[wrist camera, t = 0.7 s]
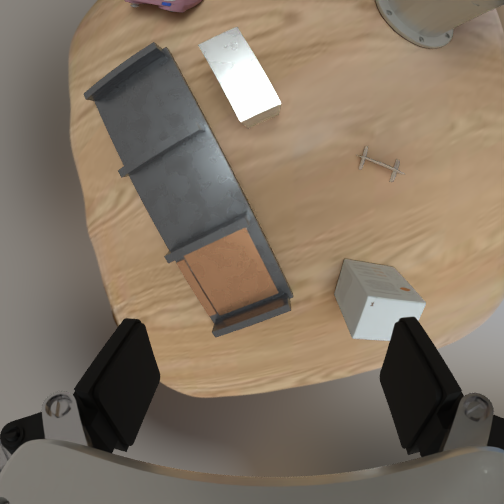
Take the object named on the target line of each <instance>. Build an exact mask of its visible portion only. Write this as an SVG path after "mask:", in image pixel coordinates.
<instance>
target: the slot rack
mask: <svg viewBox="0 0 504 504" xmlns="http://www.w3.org/2000/svg"><path fill="white" fill-rule="evenodd" d="M84 96H85V99H86V100H92V101H95V104H96V106H97V108H98V111H99V113H100V115H101V118H102V120H103V122H104V124H105V126H106V129H107V131H108V133H109V135H110V137H111V139H112V142H113V144H114V146H115V148H116V150H117V152H118V154H119V156H120V158H121V160H122V162H123V165H124V167H122V168H121V169H120V170H118V172H119V174H120V176H121V178H122V177H126V176H129V177H130V179H131V180H132V182H133V184H134V186H135V188H136V190H137V192H138V194H139V196H140V198H141V200H142V202H143V204H144V205H145V207H146V209H147V211H148V213H149V215H150V217H151V218H152V220H153V222H154V224H155V226H156V228H157V229H158V231H159V233H160V235H161V236H162V238H163V240H164V242H165V244H166V245H167V247H168V249H169V252H168V253H167V254H166V255H165V256H164V257H165V259H166V260H167V262H168V263H170V262H172V261H176V263H177V265H178V267H179V268H180V270H181V272H182V273H183V275H184V277H185V278H186V280H187V282H188V283H189V285H190V287H191V288H192V290H193V291H194V293H195V295H196V296H197V298H198V299H199V301H200V303H201V304H202V306H203V307H204V309H205V310H206V312H207V314H208V315H209V316H210V318H211V319H212V321H213V322H214V327H213V330H212V333H213V335H214V336H215V337H218V336H221V335H224V334H227V333H230V332H233V331H236V330H239V329H242V328H245V327H248V326H250V325H253V324H256V323H259V322H262V321H264V320H267V319H270V318H272V317H275V316H278V315H280V314H283V313H286V312H288V311H291V304H290V298H292V297H293V293H292V291H291V289H290V287H289V284H288V282H287V280H286V278H285V276H284V274H283V272H282V270H281V268H280V266H279V264H278V262H277V260H276V258H275V256H274V253H273V251H272V249H271V247H270V245H269V243H268V241H267V239H266V237H265V235H264V233H263V231H262V229H261V227H260V225H259V223H258V221H257V219H256V217H255V215H254V213H253V211H252V209H251V207H250V205H249V203H248V201H247V199H246V197H245V195H244V193H243V191H242V189H241V187H240V185H239V183H238V181H237V179H236V177H235V175H234V173H233V171H232V169H231V167H230V165H229V163H228V161H227V159H226V157H225V155H224V153H223V151H222V150H221V148H220V146H219V144H218V142H217V140H216V138H215V136H214V134H213V132H212V130H211V128H210V126H209V124H208V122H207V120H206V119H205V117H204V115H203V113H202V111H201V109H200V107H199V105H198V103H197V101H196V99H195V98H194V96H193V94H192V92H191V90H190V88H189V86H188V84H187V82H186V81H185V79H184V77H183V75H182V73H181V71H180V69H179V68H178V66H177V64H176V62H175V60H174V58H173V56H172V55H171V53H170V51H169V49H168V48H167V47H165V48H164V49H162V48H161V47H159V46H158V45H157V44H156V43H154V42H153V43H152V44H150V45H148V46H147V47H145V48H144V49H142V50H141V51H139V52H138V53H136V54H135V55H133V56H132V57H130V58H129V59H127V60H126V61H125V62H123V63H122V64H120V65H119V66H118V67H116V68H115V69H114V70H112V71H111V72H110V73H108V74H107V75H106V76H105V77H103V78H102V79H101V80H99V81H98V82H97V83H96V84H95V85H93V86H92V87H91V88H90V89H89V90H87V91H86V92H85V93H84Z"/></svg>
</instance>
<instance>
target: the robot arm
mask: <svg viewBox="0 0 504 504" xmlns="http://www.w3.org/2000/svg"><path fill="white" fill-rule="evenodd" d="M376 4H377V7H378V9H379V11H380V13H381V15H382V16H383V18H384V19H385V20H386V22H387V23H388V24H389V25H390V26H391V27H392V28H393V29H394V30H395V31H396V32H397V33H398V34H400V35H401V36H402V37H404V38H405V39H407V40H408V41H410V42H412V43H414V44H416V45H419V46H422V47H425V48H431V49H432V48H440V47H442V46H444V45H446V44H448V43H449V42H450V41H451V39H452V37H453V28H455V27H457V26H459V25H461V24H463V23H465V22H467V21H469V20H471V19H473V18H475V17H477V16H479V15H482V14H484V13H486V12H488V11H490V10H493V9H495V8H497V7H499V6H501V5H504V0H376ZM159 381H160V372H159V369H158V366H157V363H156V360H155V357H154V354H153V351H152V347H151V344H150V341H149V337H148V334H147V330H146V327H145V325H144V324H143V323H141V321H140V320H138V319H128V318H126V319H124V320H123V321H122V323H121V324H120V325H119V327H118V328H117V329H116V331H115V332H114V333H113V335H112V336H111V337H110V339H109V340H108V341H107V343H106V344H105V346H104V347H103V348H102V350H101V351H100V352H99V354H98V355H97V357H96V358H95V360H94V361H93V362H92V364H91V365H90V367H89V368H88V369H87V371H86V372H85V374H84V375H83V377H82V378H81V380H80V381H79V382H78V384H77V385H76V387H75V388H74V390H75V392H74V394H73V395H72V394H71V393H69V392H66V391H59V392H55V393H53V394H51V395H50V396H48V397H47V398H46V399H45V400H44V402H43V405H42V412H40V413H37V414H34V415H31V416H28V417H25V418H22V419H18V420H15V421H12V422H10V423H8V424H7V425H5V426H4V428H3V429H2V431H1V434H0V504H504V418H500V417H498V416H495V415H493V412H494V410H493V406H492V403H491V402H490V400H489V399H488V398H487V397H485V396H484V395H482V394H479V393H469V394H467V395H465V396H464V395H463V394H462V392H461V391H462V390H461V388H460V387H459V385H458V383H457V381H456V380H455V378H454V376H453V375H452V373H451V371H450V370H449V368H448V366H447V365H446V363H445V362H444V360H443V358H442V357H441V355H440V353H439V352H438V350H437V349H436V347H435V346H434V344H433V343H432V341H431V339H430V338H429V336H428V335H427V333H426V332H425V330H424V329H423V327H422V326H421V325H420V323H419V322H418V320H417V319H416V318H415V317H403V318H400V319H399V321H398V322H396V323H395V324H394V328H393V332H392V335H391V339H390V343H389V346H388V350H387V353H386V356H385V360H384V363H383V366H382V369H381V372H380V382H381V385H382V388H383V391H384V394H385V396H386V399H387V402H388V405H389V408H390V411H391V414H392V417H393V420H394V423H395V427H396V430H397V433H398V436H399V439H400V442H401V445H402V447H403V448H404V449H405V448H406V450H407V453H408V455H410V454H413V453H417V452H420V455H421V458H417V459H413V460H409V461H405V462H401V463H397V464H392V465H387V466H382V467H377V468H372V469H367V470H360V471H354V472H347V473H339V474H330V475H318V476H304V477H244V476H229V475H218V474H209V473H200V472H194V471H187V470H180V469H175V468H170V467H165V466H160V465H155V464H151V463H146V462H142V461H138V460H134V459H130V458H126V457H123V456H119V455H115V454H112V452H113V450H114V448H115V449H118V450H121V451H125V452H127V449H128V447H129V446H131V445H133V443H134V441H135V439H136V436H137V434H138V431H139V429H140V426H141V424H142V422H143V419H144V417H145V414H146V412H147V410H148V407H149V405H150V403H151V400H152V398H153V396H154V393H155V391H156V388H157V386H158V384H159Z"/></svg>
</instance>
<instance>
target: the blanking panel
mask: <svg viewBox="0 0 504 504" xmlns="http://www.w3.org/2000/svg"><path fill="white" fill-rule="evenodd" d="M198 46H199V47H200V49H201V51H202V52H203V54H204V56H205V58H206V60H207V61H208V63H209V65H210V67H211V68H212V70H213V72H214V74H215V76H216V77H217V79H218V81H219V83H220V85H221V86H222V88H223V90H224V92H225V94H226V96H227V98H228V99H229V101H230V103H231V105H232V107H233V109H234V111H235V113H236V115H237V116H238V118H239V120H240V122H241V123H242V124H243V125H245V126H246V127H247V128H248V129H249V128H251V127H253V126H255V125H257V124H260V123H262V122H264V121H266V120H268V119H271V118H273V117H275V116H277V115H279V112H280V107H281V102H280V100H279V98H278V96H277V94H276V92H275V91H274V89H273V87H272V85H271V83H270V81H269V80H268V78H267V76H266V74H265V72H264V71H263V69H262V67H261V65H260V64H259V62H258V60H257V59H256V57H255V55H254V53H253V52H252V50H251V48H250V47H249V45H248V44H247V42H246V40H245V39H244V37H243V35H242V34H241V32H240V31H239V29H238V27H235V28H233V29H231V30H228V31H226V32H224V33H222V34H220V35H217V36H215V37H213V38H211V39H209V40H207V41H205V42H203V43H201V44H199V45H198Z"/></svg>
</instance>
